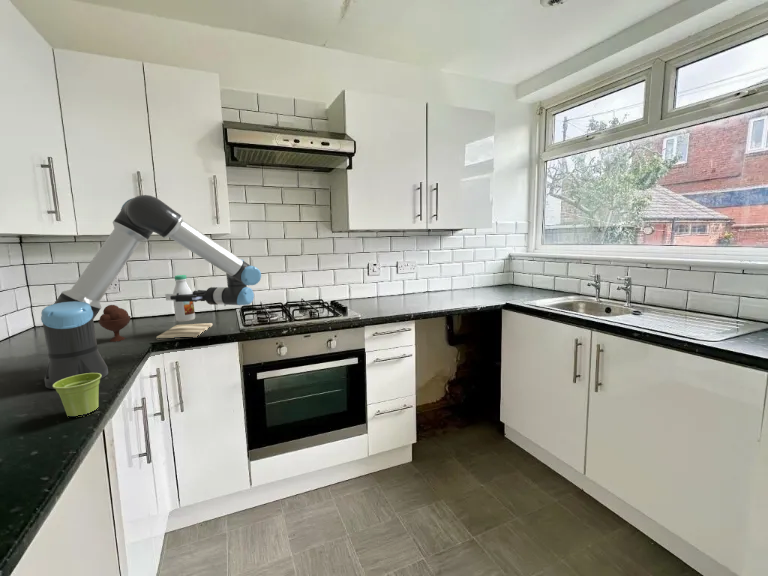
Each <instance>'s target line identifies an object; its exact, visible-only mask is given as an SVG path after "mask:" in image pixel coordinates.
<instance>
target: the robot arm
mask: <svg viewBox="0 0 768 576" xmlns="http://www.w3.org/2000/svg"><path fill="white" fill-rule="evenodd" d="M112 224H113V228H114V229H113V230H112V232H110V234H109V236H108V237H107V239H106V240H105V241H104V243H103V244H102V245H101V247H100V248H99V249H98V250H97V252H96V254H95V255H94V257H93V258H92V260H91V261H90V262H89V264H88V265H87V266H86V268H85V269H84V270H83V272H82V274H81V275H80V276H79V278H78V279H77V280H76V282H74V284H73V286H71V288H70V289H67V290H64V291H61V293H60V295H59V296H58V297H57V299H56V300H55V301H54V303H53V304H51V305H47V306H46V307H43V308H42V310H41V316H40V317H41V318H40V321H41V323H42V326H43V333H44V337H45V344H46V351H47V355H48V356H47V357H48V364H47V367H46V371H45V376H44V385H45V388H47V389H50V390H51V389H52V390H56V389H55V388H53V384H54V383H56V382H57V381H59V380H62V379H64V378H68V377H71V376H75V375H80V374H86V373H100V374H101V375H102V377H101V378H100V380H102V379H103V378H105V377H107V375H108V374H109V369H108V368H109V367H108V365H107V364H106V362H105V360H104V358H103V357H102V355H101V354H100V352H99V349H98V348H99V347H98V340H97V336H96V335H97V334H96V328H95V322H94V319H96V317H97V315H98V313H99V312H100V310H101V309H102V304H101V300H102V299H103V297H104V296H105V295H106V293H107V291H108V290H109V288H110V287H111V285H113V283H114V281H115V279H116V278H117V276H118V275H120V272H121V271H122V270H123V269H124V267H125V265H126V263H127V262H128V261H129V259H130V258H131V257H132V255H133V254H134V252H135V251H136V249H137V248H138V246H139V245H140V244H141V243H143V242H148V240H149V239H150V237H151V236H152V235H153V233H155V234H157V235H158V236H161V237H162V238H166V239H167V238H169V239H171V240H173V241H174V242H176V243H177V244H179V245H180V246H182V247H184V248H185V249H187V250H189V251H190V252H192V253H193V254H195V255H196V256H198V257H200V258H202V259H203V260H204V261H206V262H208V263H210V264H211V265H213V266H215V267H216V268H217V269H219V270H221V271H223V272H224V273H225V274H226V275H225V276H226V282H227V287H226V286H220V287H219V286H218V287H215V286H213V287H212V286H211V287H208V288H207V289H206V290H203V289H197V290H191V291H192V294H184V295H179V293H177V294H173V293H165V294H164V295H165V301H173V300H174V301H176V302H190V301H192V302H193V303H196V302H206V303H207V304H209V305H213V306H214V305H217V306H218V305H219V306H220V305H222V306H224V307H226V306H249V305H251V304H252V302H253V301H254V299H255V298H254V297H255V296H254V295H255V293H254V291H253V289H252V288H251V287H249V286H256V285H257V284H258V283H260V282H261V278H262V272H261V270H260V269H259V268H258V267H257V266H255V265H250V264H249V263H247V262H246V261H245V260H244V259H243V258H240V257H238V255H235V254H234V253H233V252H231V251H229V250H228V249H227V248H225V247H224V246H222V245H221V244H219V243H218V242H217V241H215V240H213V239H212V238H211V237H208V235H206V234H204V233H203V232H201V231H199V230H198V229H197V228H196V227H194V226H193V225H191V224H189V223H188V222H187V221H185V220H184V218H183V215H181V214H180V213H179V212H177V211H176V210H174V209H173V208H172V207H170V206H169V205H167V204H166V203H165V202H163V201H162V200H160V199H159V198H157V197H156V196H152V195H149V194H148V195H147V194H141V195H137V196H135V197H131V198H129V199H128V200H126V201H125V202H124V203H123V204H122V206H121V209H120V210H119V213H118V214H117V215H116V217H115V218H114V219H113V221H112ZM174 301H173V302H174Z"/></svg>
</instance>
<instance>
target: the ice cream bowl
mask: <svg viewBox="0 0 768 576" xmlns="http://www.w3.org/2000/svg"><path fill="white" fill-rule="evenodd" d="M97 321H98V323H99V325H100V326H101V327H102V328H103V329H105V330H108V331H111V332H113V334H114V335H113V337H112V338H110V339H109V342H111V343H114V342H115V343H116V341H117V342H120V341H121V340H122V341H125V340H126V337H124V336H122V335H120V330H122V329H125V328H126V326H128V324H129V323H130V321H131V315H129V313H128V311H127V310H126V309H124V308H121V307H119V306H118V305H115V304H108V305H106V306H105V307H104V309H103V312H102V314H101V315H100V317H99V319H98V320H97ZM124 339H125V340H124Z"/></svg>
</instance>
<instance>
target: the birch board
mask: <svg viewBox="0 0 768 576" xmlns="http://www.w3.org/2000/svg"><path fill="white" fill-rule="evenodd" d="M212 326H213V322H209V323H205V322H204V323H194V324H193V323H190V324H189V323H188V324H187V323H186V324H176V325H174V326H173V327H170V328H169V329H168V330H166V331H163V332H162V333H161V334H159V335H157V336H156V339H157V338H174V337H193V338H198V337H199V336H201V335H202V334H203V333H205V332H206V331H208V330H209V329H210V328H212ZM209 327H210V328H209ZM208 328H209V329H208ZM205 330H206V331H205ZM204 331H205V332H204ZM202 332H203V333H202ZM201 333H202V334H201ZM200 334H201V335H200ZM198 335H199V336H198ZM197 336H198V337H197Z"/></svg>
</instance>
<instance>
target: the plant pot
mask: <svg viewBox="0 0 768 576" xmlns="http://www.w3.org/2000/svg"><path fill="white" fill-rule="evenodd" d="M101 377H102V375H101V374H100V373H86V374H80V375H75V376H71V377H68V378H64V379H62V380H59V381H57V382H56V383H54V384H53V388H55V389H54V390H55V391H56V393H57V394H58V395H59V398H60V400H61V403H62V405H63V409H64V411H65V414H66V416H67V417H68V416H78V415H83V414H87V413H90V412H92V411H94V410H96V409H97V408H98V407H99V401H100V399H99V397H100V395H99V394H100V393H99V390H100V389H99V388H100V383H101V379H100V378H101ZM98 409H99V408H98ZM98 409H97V410H98ZM78 417H79V416H78Z"/></svg>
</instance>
